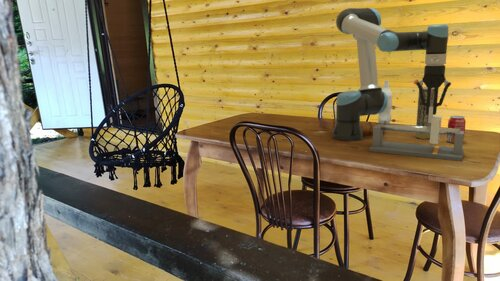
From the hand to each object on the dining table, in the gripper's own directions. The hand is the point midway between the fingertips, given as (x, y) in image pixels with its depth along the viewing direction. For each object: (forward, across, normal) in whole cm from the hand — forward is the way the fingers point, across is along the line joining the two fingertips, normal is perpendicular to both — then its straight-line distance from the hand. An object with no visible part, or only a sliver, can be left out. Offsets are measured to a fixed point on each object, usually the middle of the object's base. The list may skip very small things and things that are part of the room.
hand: (430, 122), depth 151 cm
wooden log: (+14, -5, +27) cm, 31 cm away
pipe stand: (+14, -5, 0) cm, 14 cm away
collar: (+8, +2, 0) cm, 8 cm away
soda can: (+14, +9, +24) cm, 29 cm away
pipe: (+5, -5, 0) cm, 7 cm away
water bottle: (+14, -29, +54) cm, 63 cm away
